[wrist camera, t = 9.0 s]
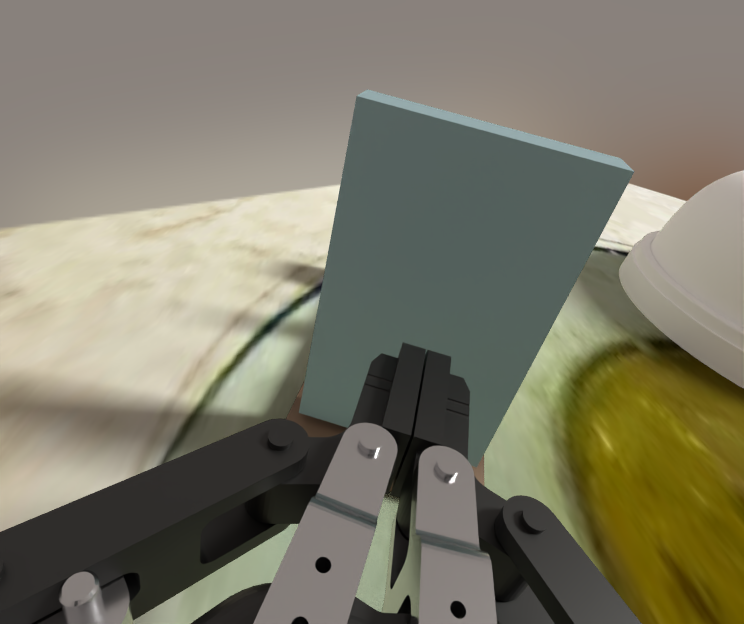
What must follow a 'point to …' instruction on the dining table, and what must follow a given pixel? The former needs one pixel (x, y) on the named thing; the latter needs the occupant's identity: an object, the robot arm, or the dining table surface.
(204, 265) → the dining table surface
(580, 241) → the blue-grey rectangular panel
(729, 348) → the dome cover
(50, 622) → the robot arm
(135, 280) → the dining table surface
